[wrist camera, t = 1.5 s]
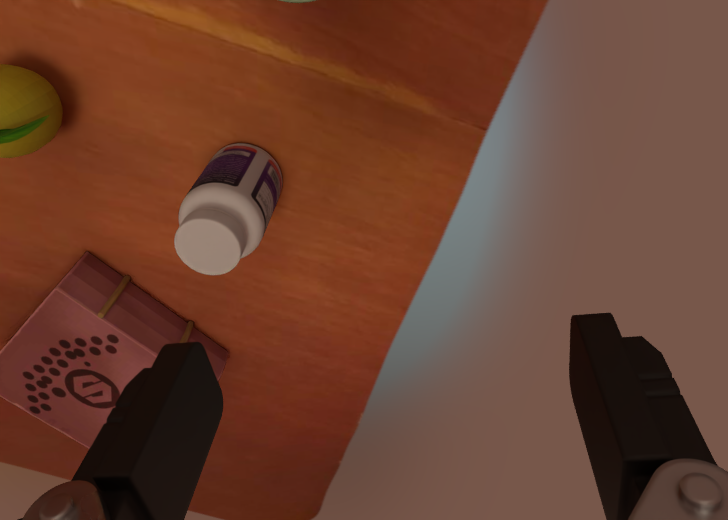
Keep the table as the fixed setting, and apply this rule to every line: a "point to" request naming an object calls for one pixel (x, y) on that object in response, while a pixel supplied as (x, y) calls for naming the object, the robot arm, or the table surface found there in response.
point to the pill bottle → (228, 209)
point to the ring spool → (297, 1)
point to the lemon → (26, 111)
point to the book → (89, 349)
